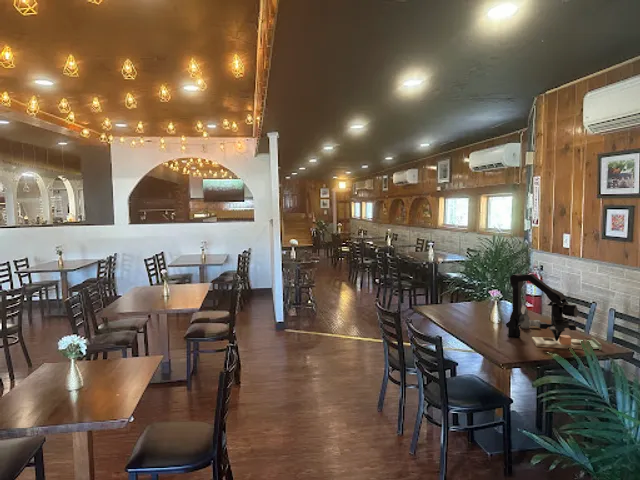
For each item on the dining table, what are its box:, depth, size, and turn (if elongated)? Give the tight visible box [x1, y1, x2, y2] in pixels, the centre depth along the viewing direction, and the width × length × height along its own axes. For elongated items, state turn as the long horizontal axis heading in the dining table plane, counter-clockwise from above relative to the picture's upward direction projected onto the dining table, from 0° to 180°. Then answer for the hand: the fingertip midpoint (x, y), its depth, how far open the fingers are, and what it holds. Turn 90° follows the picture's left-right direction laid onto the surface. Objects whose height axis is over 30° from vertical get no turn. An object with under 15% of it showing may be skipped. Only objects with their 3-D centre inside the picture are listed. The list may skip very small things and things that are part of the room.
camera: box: [519, 304, 541, 329], centre depth 286 cm, size 9×12×15 cm
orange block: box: [559, 334, 572, 345], centre depth 246 cm, size 5×5×4 cm
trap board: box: [531, 336, 603, 351], centre depth 249 cm, size 33×13×4 cm, turn 74°
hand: (556, 340), depth 247 cm, fingers closed
